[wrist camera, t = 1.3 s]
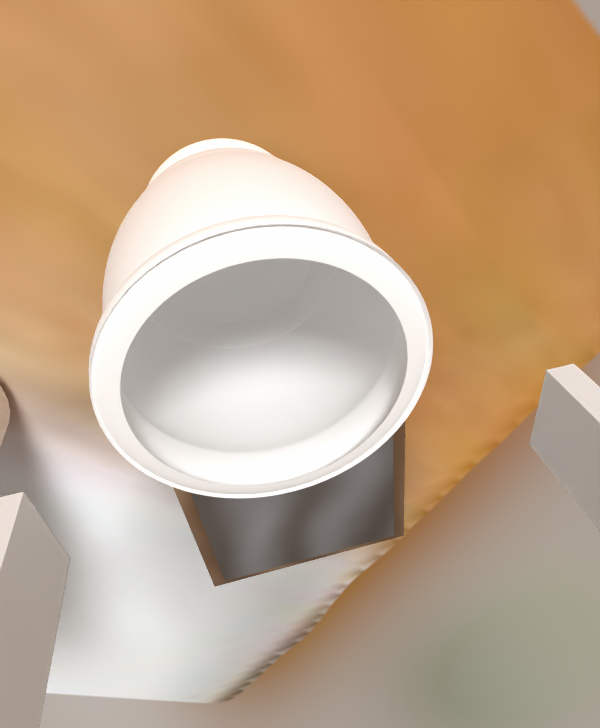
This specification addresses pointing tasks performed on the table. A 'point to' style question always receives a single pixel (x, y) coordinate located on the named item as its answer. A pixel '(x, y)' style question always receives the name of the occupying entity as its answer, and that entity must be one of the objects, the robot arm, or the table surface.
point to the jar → (251, 329)
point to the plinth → (301, 518)
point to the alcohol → (3, 414)
